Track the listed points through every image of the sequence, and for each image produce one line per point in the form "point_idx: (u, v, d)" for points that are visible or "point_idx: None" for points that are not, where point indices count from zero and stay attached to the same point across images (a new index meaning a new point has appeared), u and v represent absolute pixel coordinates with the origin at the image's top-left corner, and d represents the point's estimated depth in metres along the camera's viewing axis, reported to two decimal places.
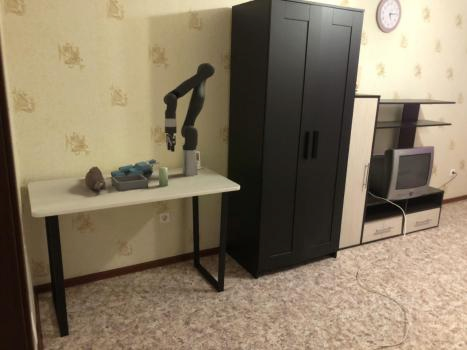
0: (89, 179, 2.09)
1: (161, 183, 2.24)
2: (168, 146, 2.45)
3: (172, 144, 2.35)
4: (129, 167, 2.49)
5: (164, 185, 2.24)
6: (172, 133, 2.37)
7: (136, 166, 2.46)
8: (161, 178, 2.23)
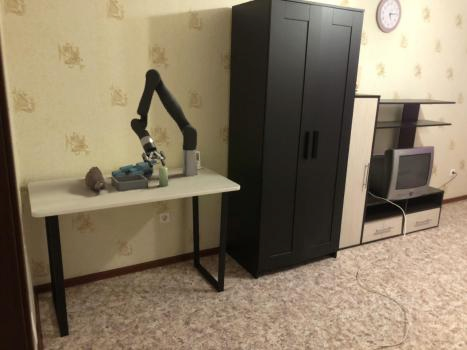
0: (89, 179, 2.09)
1: (161, 183, 2.24)
2: (162, 162, 2.32)
3: (144, 162, 2.25)
4: (130, 167, 2.49)
5: (164, 185, 2.24)
6: (145, 151, 2.29)
7: (137, 166, 2.46)
8: (161, 178, 2.23)
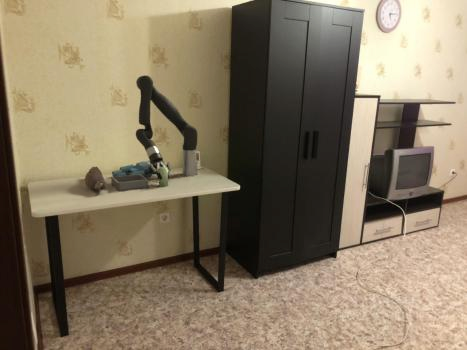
0: (89, 179, 2.09)
1: (161, 183, 2.24)
2: None
3: (153, 173, 2.23)
4: (130, 167, 2.49)
5: (164, 185, 2.24)
6: (152, 162, 2.26)
7: (137, 166, 2.46)
8: None
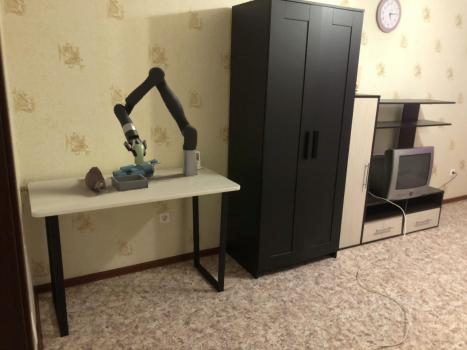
0: (89, 179, 2.09)
1: (136, 161, 2.17)
2: None
3: (128, 150, 2.16)
4: (130, 167, 2.50)
5: (139, 163, 2.18)
6: (127, 139, 2.19)
7: (137, 166, 2.46)
8: None
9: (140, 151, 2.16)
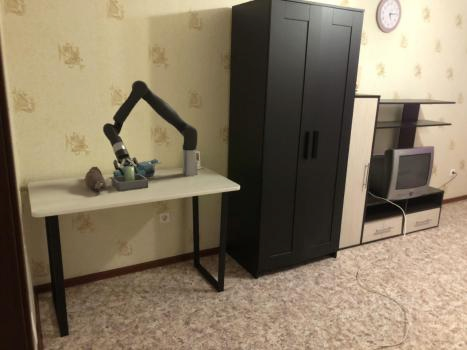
0: (89, 179, 2.09)
1: None
2: (134, 169, 2.23)
3: None
4: None
5: None
6: (117, 158, 2.21)
7: (138, 166, 2.47)
8: (127, 178, 2.19)
9: (130, 173, 2.19)
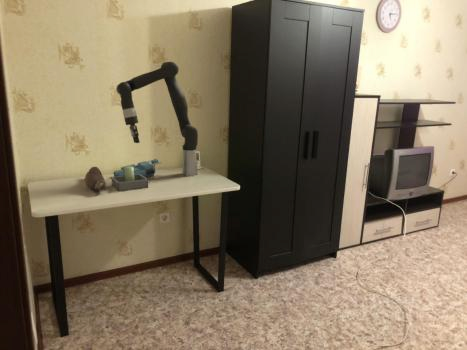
0: (89, 179, 2.09)
1: None
2: (134, 138, 2.29)
3: (134, 135, 2.18)
4: None
5: None
6: (133, 123, 2.21)
7: (139, 166, 2.47)
8: (127, 178, 2.19)
9: (130, 173, 2.19)
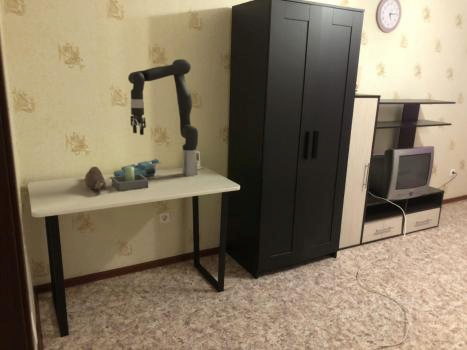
0: (89, 179, 2.09)
1: None
2: (134, 129, 2.27)
3: (142, 127, 2.18)
4: None
5: None
6: (140, 115, 2.20)
7: (139, 166, 2.47)
8: (127, 178, 2.19)
9: (130, 174, 2.19)
